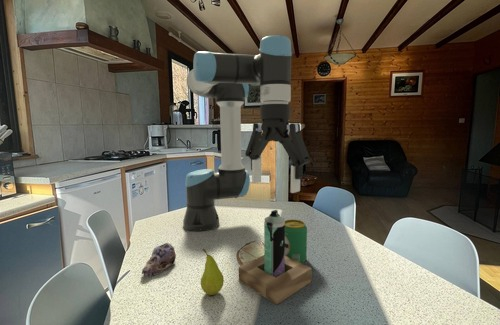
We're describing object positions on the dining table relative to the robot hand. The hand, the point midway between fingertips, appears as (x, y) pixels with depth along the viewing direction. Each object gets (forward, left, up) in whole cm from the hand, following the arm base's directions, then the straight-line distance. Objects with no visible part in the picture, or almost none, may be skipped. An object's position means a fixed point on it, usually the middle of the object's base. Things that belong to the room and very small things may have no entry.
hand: (274, 187), depth 71 cm
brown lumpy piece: (-29, -21, -27) cm, 44 cm away
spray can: (0, 0, -27) cm, 27 cm away
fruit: (-7, -16, -27) cm, 32 cm away
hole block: (0, 0, -26) cm, 26 cm away
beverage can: (-4, +13, -27) cm, 30 cm away
